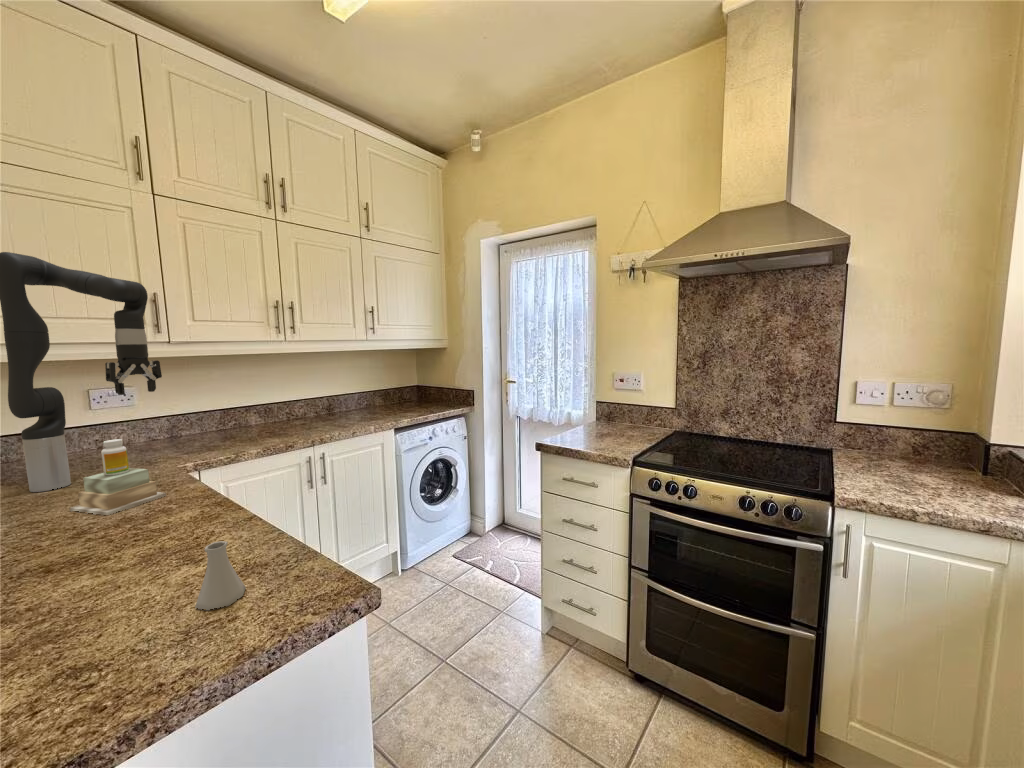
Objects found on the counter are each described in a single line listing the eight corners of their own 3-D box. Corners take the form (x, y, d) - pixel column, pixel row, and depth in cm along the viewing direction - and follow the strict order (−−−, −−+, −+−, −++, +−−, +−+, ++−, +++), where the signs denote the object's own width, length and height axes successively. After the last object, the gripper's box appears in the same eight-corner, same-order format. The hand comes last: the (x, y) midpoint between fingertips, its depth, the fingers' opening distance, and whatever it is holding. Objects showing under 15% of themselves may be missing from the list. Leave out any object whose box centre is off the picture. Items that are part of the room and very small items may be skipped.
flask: (212, 588, 77) (207, 536, 76) (253, 585, 77) (249, 534, 76) (185, 613, 69) (179, 557, 68) (230, 610, 70) (225, 554, 69)
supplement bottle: (133, 471, 122) (129, 438, 121) (111, 476, 117) (106, 443, 116) (122, 469, 124) (118, 437, 123) (99, 475, 119) (95, 442, 118)
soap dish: (69, 511, 116) (65, 480, 115) (131, 492, 130) (128, 464, 129) (107, 515, 112) (103, 483, 111) (166, 496, 126) (163, 467, 125)
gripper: (148, 343, 141) (153, 390, 143) (96, 343, 127) (102, 395, 129) (164, 343, 139) (168, 390, 140) (112, 343, 125) (118, 396, 127)
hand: (136, 393), depth 135 cm, fingers open, 8 cm apart
